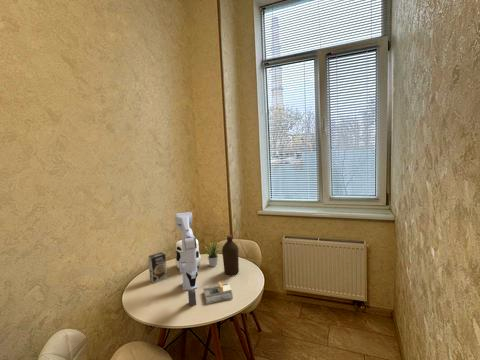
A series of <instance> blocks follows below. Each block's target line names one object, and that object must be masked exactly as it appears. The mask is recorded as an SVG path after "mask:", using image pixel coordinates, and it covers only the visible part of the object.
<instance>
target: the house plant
mask: <svg viewBox="0 0 480 360" xmlns="http://www.w3.org/2000/svg"><path fill="white" fill-rule="evenodd" d="M218 243H219V242H218V241H217V242H216V243H215V245H214V244H213V242H209V246H210V247H209V248H208V247H207V246H205V245H204V247H205V249H206V250H205V251H206V252H205V253H204V254H206V255H208V256H207V259H208V263H209V266H210V267H217V266H218V260H219V255H218V254H219V252H221V249H220V248H221V247H222V248H223V246H221V245H222V243H220V244H218ZM216 265H217V266H216Z"/></svg>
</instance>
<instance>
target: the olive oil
mask: <svg viewBox="0 0 480 360" xmlns="http://www.w3.org/2000/svg"><path fill="white" fill-rule="evenodd" d="M221 252H222V262H223V263H222V264H223V272H224V275H225V274H226V275H225V276H228V275H229V277H231V276H232V275H234V276H236V274H237V273H238V272H240V271H239V270H240V268H239V264H240V263H239V247H238V245H237V244H236V243H235V242H234V241H233V236H232V234H227V235H226V242H225V243H224V244H223V246H222V248H221ZM238 274H239V273H238ZM238 274H237V275H238ZM232 277H233V276H232Z"/></svg>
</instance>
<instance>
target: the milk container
mask: <svg viewBox="0 0 480 360" xmlns="http://www.w3.org/2000/svg"><path fill="white" fill-rule="evenodd" d="M195 239H196V244H197V246H196V247H195V248H196V261H197V268H198V267H200V265H201V262H202V261H201V260H202V257H201V254H200V249H199V248H200V246H199V241H198V239H197V238H195ZM175 250H176V251H175V253H176V256H175V257H176V258H175V264H176V265H175V266H176V268H177V269H179V260H180V258H181V257H182V256H183V249H182V239H180V240H177V241H176V243H175ZM182 262H184V261H182Z"/></svg>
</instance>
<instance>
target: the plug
mask: <svg viewBox="0 0 480 360" xmlns="http://www.w3.org/2000/svg"><path fill="white" fill-rule="evenodd" d="M187 296H188V306H189V307H192V306H197V296H196V288H195V289H192V288H191V289H189V290H187Z"/></svg>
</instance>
